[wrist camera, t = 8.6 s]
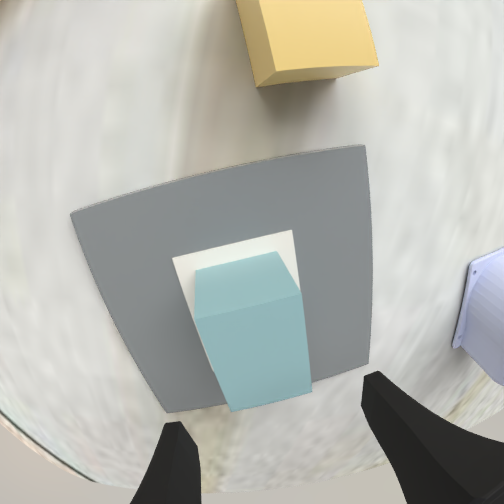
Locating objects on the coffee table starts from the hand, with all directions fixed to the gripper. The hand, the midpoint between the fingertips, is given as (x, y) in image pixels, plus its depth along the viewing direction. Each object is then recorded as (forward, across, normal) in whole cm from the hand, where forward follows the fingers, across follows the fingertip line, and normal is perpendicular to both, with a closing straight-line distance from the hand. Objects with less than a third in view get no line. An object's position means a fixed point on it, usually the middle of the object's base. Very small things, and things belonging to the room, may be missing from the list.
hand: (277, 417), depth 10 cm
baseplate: (+8, 0, 0) cm, 8 cm away
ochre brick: (+9, -5, -15) cm, 18 cm away
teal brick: (+8, 0, 0) cm, 8 cm away
